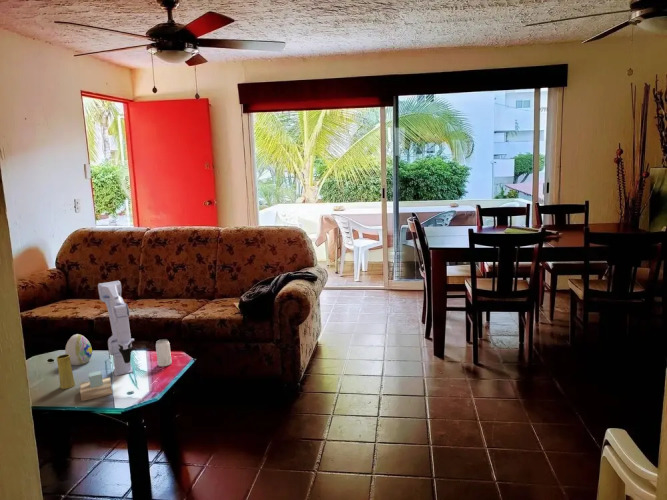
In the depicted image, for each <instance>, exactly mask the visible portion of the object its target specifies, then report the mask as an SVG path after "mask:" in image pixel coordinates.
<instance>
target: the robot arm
mask: <svg viewBox="0 0 667 500" xmlns="http://www.w3.org/2000/svg"><path fill="white" fill-rule="evenodd" d="M97 289H98V296H99V300H100V301H101V302H103V303H105V305H106V308H107V312H108V313H107V314H108V317H109V322H110V328H111V332H112V333H111V336H110V337H109V338H108V340H107V347H108V352H109V355H111V356H112V358H113V359H112V360H113V365H114V368H113V372H114V376H115V377H116V376H122V375H125V374H131V373H133V372H134V371H133V367H132V364H131V355H132V351H133V344H132V343H133V342H134V341H135V338H132V336H131V335H132V334H131V329H130V321H129V320H130V319H129V318H130V309H129V306H128V303H126V302H125V301H124V299H123V297H122V283H121V281H119V280H114V281H109V282H102V283H101V282H98V284H97Z"/></svg>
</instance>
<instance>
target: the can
mask: <svg viewBox="0 0 667 500" xmlns="http://www.w3.org/2000/svg"><path fill="white" fill-rule="evenodd" d="M155 342H156V343H155V351H156V359H157V365H158V367H160V368H163V367H168V366H170V365H172V364H173V363H172V355H171V345H170V344H171V343H170V342H169V340H168V339H167V338H165V339H164V338H163V339H159V340H157V341H155Z"/></svg>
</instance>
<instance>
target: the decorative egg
mask: <svg viewBox="0 0 667 500" xmlns="http://www.w3.org/2000/svg"><path fill="white" fill-rule="evenodd" d="M64 353H65V354H69V355H70V361H71V366H81V365H80V364H82V365H85V364H87V363H89V362H90V360H91V358H92V356H93V349H92V345H91V343H90V341H89V340H88V338H86V337H85V336H84V335H82V334H79V333H76V334H73V335H72V336H70V338H69V339H68V340H67V343H66V344H65V349H64Z"/></svg>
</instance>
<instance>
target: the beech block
mask: <svg viewBox="0 0 667 500" xmlns="http://www.w3.org/2000/svg"><path fill="white" fill-rule="evenodd" d="M102 380H103V385H101V386H97V387H92V388H91V387H90V381H85V382H80V393H79V394H80V398H81V399H80V400H81V401H83V402H84V401H88V400H92V399H97V398H101V397H107V396H110V395H113V390H112V389H113V388H112V382H111V377H110V376H109V377H105V378H102Z"/></svg>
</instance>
